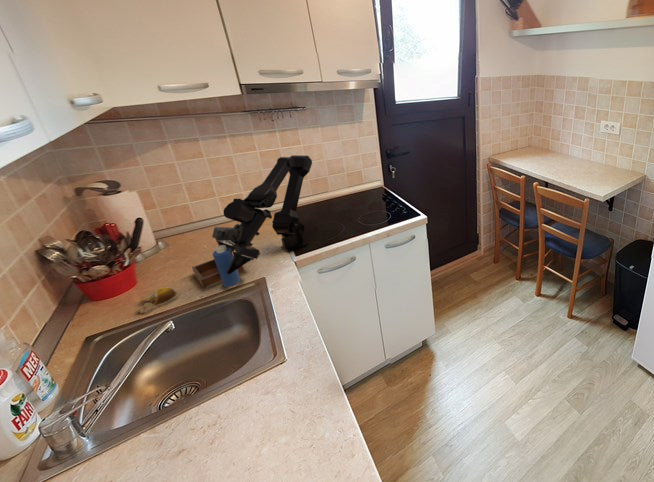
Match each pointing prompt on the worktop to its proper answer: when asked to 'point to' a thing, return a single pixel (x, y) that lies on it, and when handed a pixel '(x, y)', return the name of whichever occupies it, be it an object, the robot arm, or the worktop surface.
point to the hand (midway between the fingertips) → (222, 269)
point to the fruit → (159, 297)
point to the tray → (209, 273)
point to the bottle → (226, 266)
